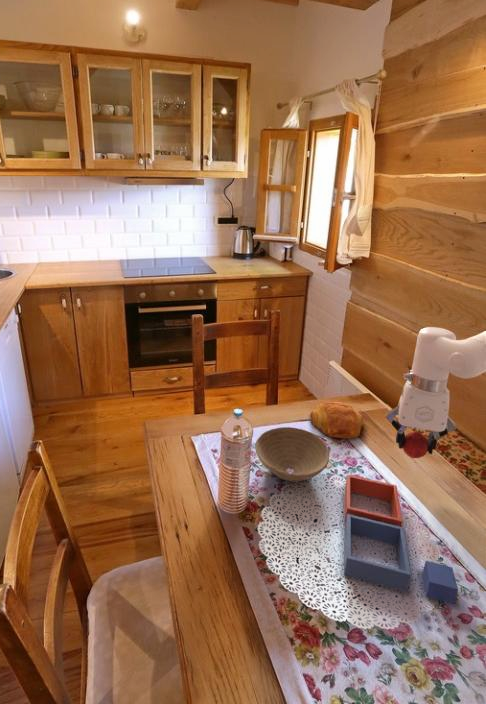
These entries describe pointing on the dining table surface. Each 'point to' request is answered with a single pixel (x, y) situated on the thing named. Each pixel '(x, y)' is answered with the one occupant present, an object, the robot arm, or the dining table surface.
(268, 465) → the bowl
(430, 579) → the blue block
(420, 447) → the onion
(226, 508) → the water bottle
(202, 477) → the dining table surface
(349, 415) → the croissant
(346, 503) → the terracotta bin
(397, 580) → the blue bin
